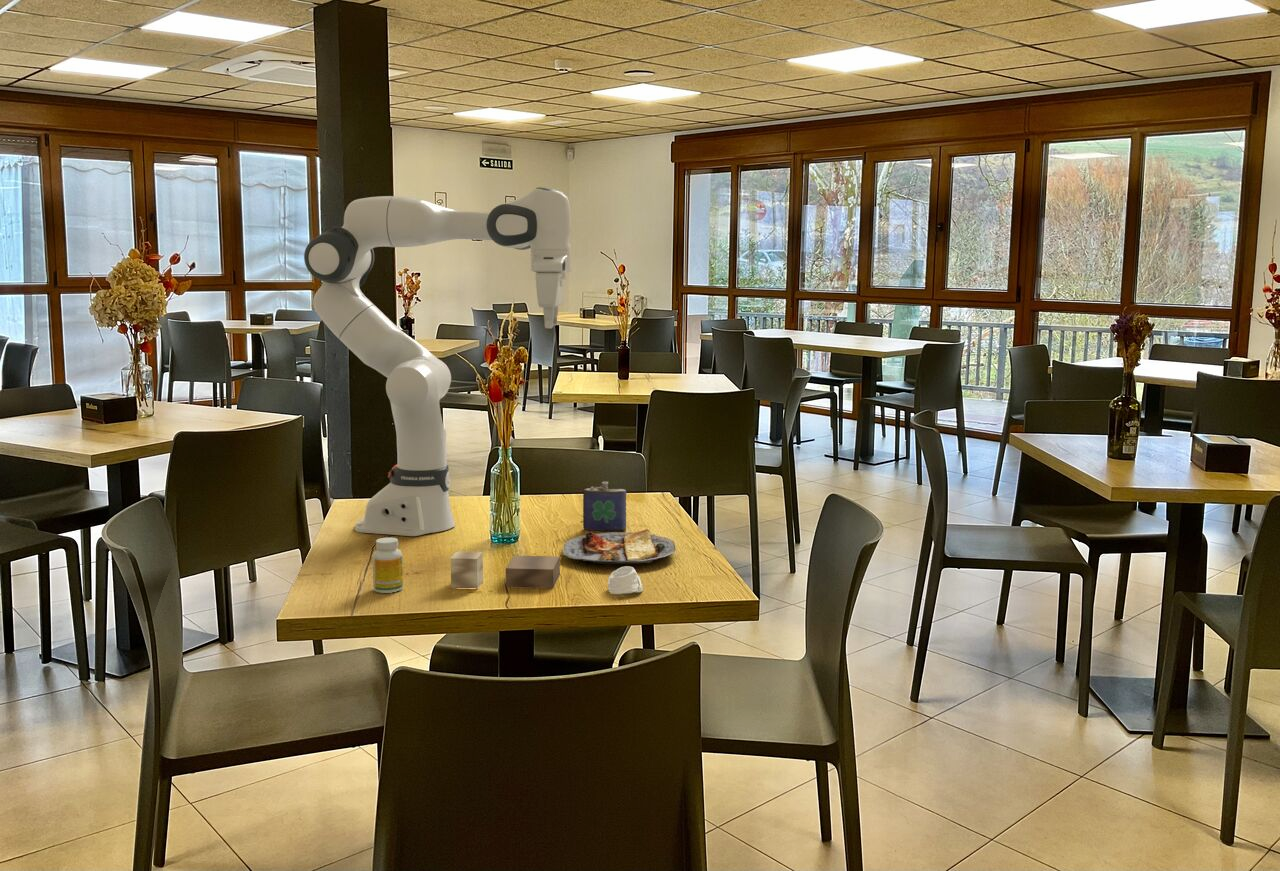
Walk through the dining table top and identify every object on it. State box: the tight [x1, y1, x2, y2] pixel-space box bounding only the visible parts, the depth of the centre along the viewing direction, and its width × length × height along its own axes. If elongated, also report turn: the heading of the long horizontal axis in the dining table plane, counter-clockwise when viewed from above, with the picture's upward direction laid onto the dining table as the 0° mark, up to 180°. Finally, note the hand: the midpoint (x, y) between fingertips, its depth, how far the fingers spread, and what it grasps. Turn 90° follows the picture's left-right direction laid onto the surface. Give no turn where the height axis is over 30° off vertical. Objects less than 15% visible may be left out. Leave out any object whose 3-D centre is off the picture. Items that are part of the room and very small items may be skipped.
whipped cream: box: [607, 565, 644, 595], centre depth 199 cm, size 8×7×5 cm
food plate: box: [562, 528, 676, 565], centre depth 223 cm, size 25×23×4 cm
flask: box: [582, 481, 627, 533], centre depth 243 cm, size 10×3×12 cm, turn 88°
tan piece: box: [450, 550, 484, 590], centre depth 201 cm, size 5×5×6 cm
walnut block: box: [505, 555, 561, 589], centre depth 205 cm, size 9×9×4 cm
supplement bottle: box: [372, 537, 404, 594], centre depth 198 cm, size 5×5×10 cm
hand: (551, 327), depth 235 cm, fingers open, 8 cm apart
